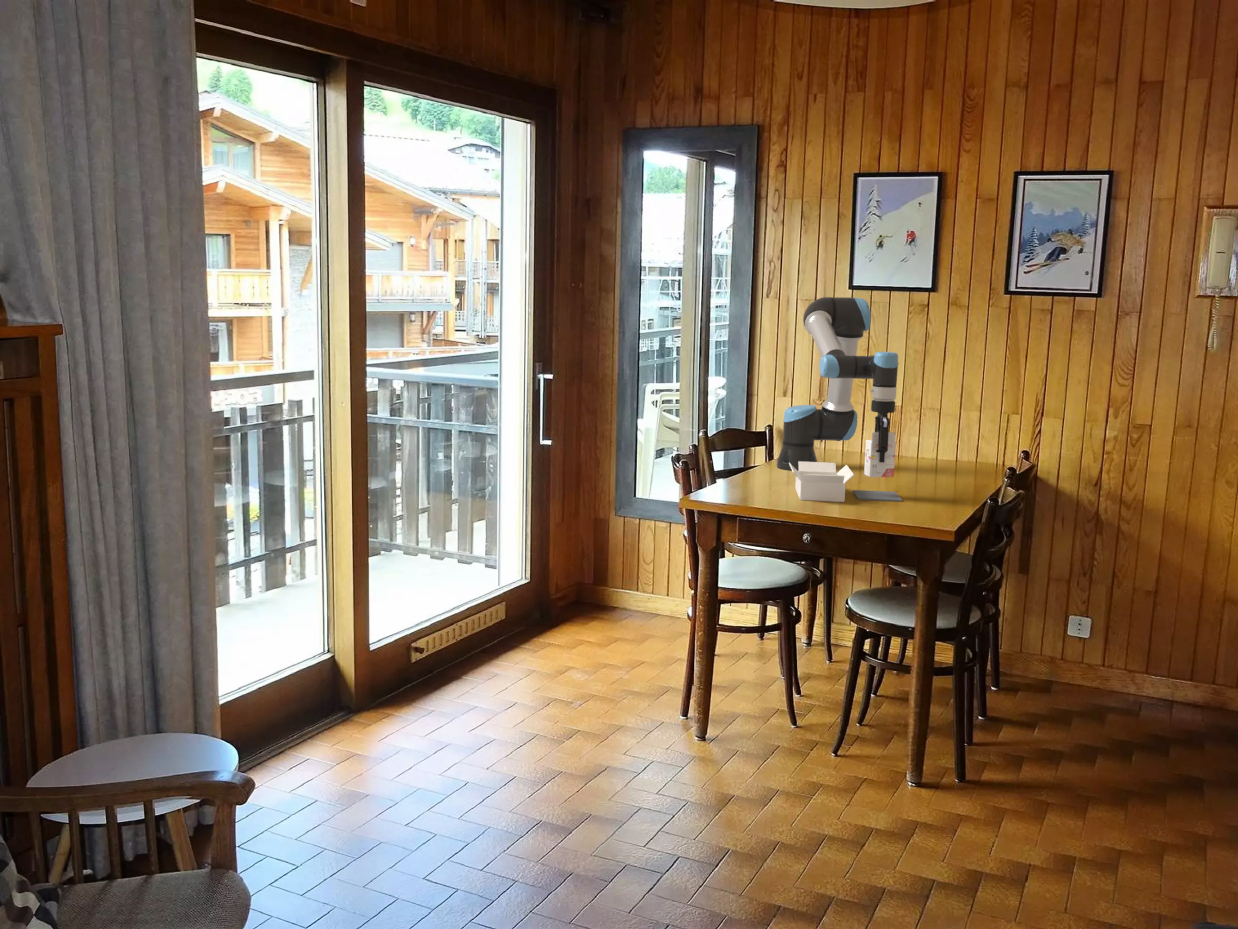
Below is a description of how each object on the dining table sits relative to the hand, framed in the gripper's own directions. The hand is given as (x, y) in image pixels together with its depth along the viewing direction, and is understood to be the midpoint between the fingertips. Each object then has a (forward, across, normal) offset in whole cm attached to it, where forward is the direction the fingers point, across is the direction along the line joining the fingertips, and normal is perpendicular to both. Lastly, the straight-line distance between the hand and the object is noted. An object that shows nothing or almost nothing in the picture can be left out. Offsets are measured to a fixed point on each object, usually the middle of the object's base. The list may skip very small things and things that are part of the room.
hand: (879, 470), depth 365 cm
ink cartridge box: (+2, 0, 0) cm, 2 cm away
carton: (+9, +1, -19) cm, 21 cm away
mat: (+9, 0, 0) cm, 9 cm away
